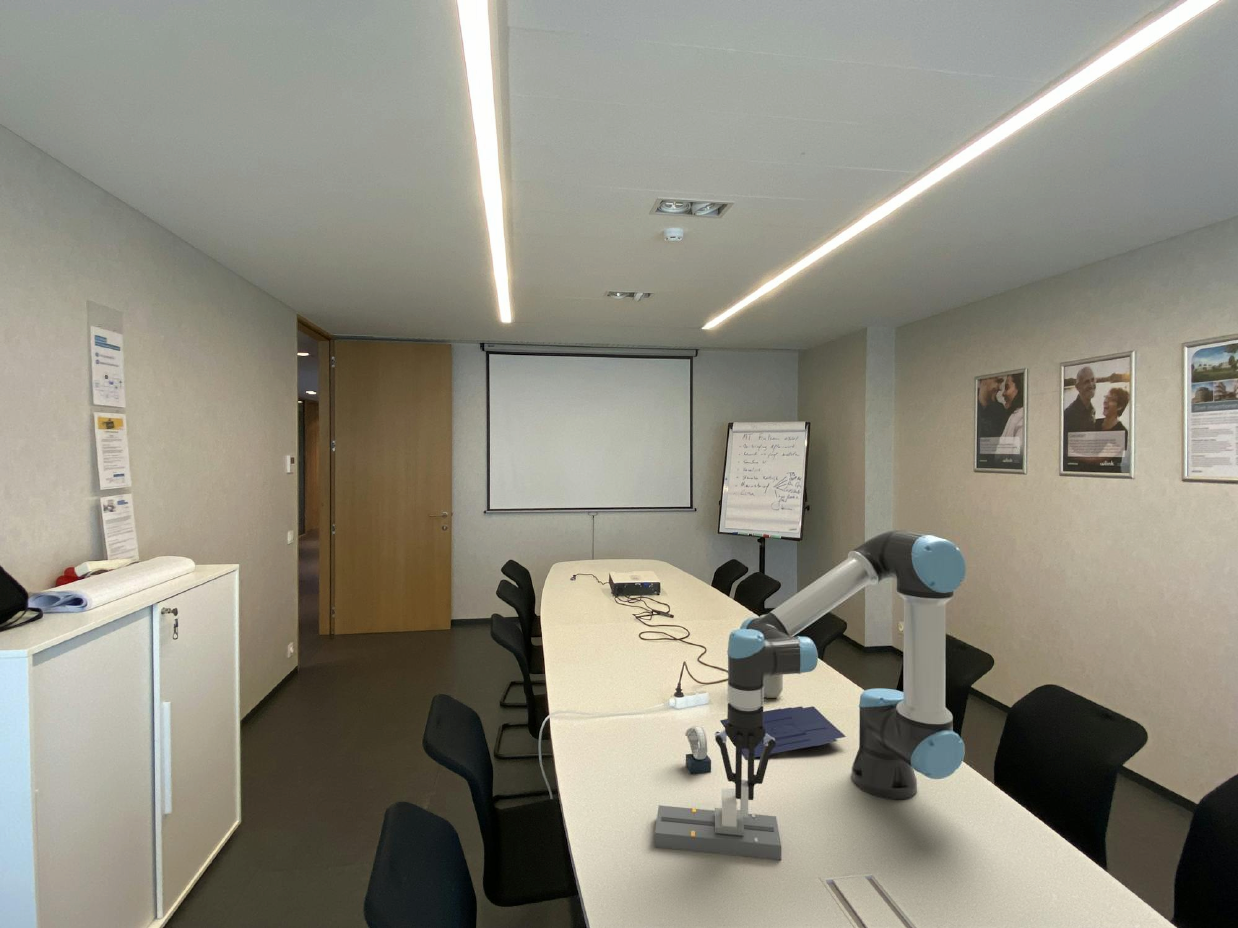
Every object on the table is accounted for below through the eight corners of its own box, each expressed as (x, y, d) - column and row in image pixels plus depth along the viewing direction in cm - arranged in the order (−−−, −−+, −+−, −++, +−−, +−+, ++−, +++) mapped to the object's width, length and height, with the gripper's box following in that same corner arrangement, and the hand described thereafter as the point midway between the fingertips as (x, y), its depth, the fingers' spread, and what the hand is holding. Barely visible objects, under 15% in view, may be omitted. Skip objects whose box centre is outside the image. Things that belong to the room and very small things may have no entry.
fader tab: (742, 815, 132) (742, 787, 131) (744, 835, 125) (744, 806, 125) (714, 812, 132) (714, 785, 132) (714, 832, 126) (715, 803, 125)
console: (775, 829, 132) (776, 815, 132) (781, 859, 122) (781, 844, 122) (658, 818, 136) (658, 804, 136) (654, 846, 126) (654, 831, 126)
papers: (850, 749, 166) (849, 736, 166) (747, 768, 162) (745, 755, 162) (811, 712, 190) (810, 700, 190) (720, 728, 186) (719, 716, 186)
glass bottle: (780, 690, 209) (780, 611, 209) (785, 703, 199) (786, 619, 199) (751, 689, 210) (752, 610, 210) (755, 701, 200) (755, 618, 200)
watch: (702, 759, 162) (703, 719, 162) (713, 775, 154) (713, 733, 154) (683, 762, 161) (683, 721, 161) (692, 777, 153) (693, 735, 153)
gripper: (774, 698, 130) (773, 805, 131) (714, 694, 132) (713, 800, 133) (778, 713, 123) (777, 826, 123) (714, 709, 125) (713, 820, 125)
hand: (744, 812), depth 128 cm, fingers closed
